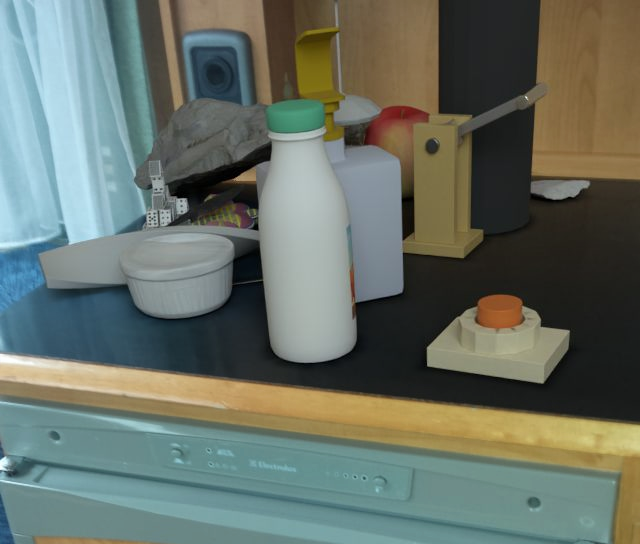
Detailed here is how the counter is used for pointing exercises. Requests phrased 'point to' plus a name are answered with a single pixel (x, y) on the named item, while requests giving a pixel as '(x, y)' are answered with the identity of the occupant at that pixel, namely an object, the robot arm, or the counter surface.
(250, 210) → the decorative ornament
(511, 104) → the lever
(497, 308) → the button
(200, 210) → the machete
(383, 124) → the apple
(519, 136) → the vase
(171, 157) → the stone
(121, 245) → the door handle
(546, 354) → the button block
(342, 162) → the soap bottle
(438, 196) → the bracket
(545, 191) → the stone
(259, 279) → the knife
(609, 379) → the counter surface
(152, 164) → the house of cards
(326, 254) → the milk bottle
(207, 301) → the ramekin
